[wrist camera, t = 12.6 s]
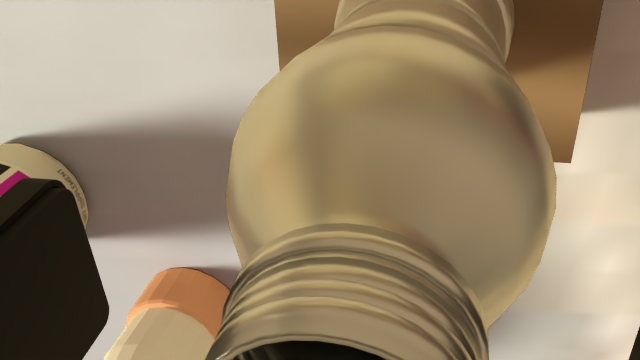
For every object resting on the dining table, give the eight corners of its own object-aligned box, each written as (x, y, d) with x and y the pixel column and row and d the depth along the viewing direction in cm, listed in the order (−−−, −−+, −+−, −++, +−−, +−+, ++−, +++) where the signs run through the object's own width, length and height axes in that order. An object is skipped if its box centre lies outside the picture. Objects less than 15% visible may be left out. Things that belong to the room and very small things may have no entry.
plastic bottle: (338, 72, 26) (105, 519, 9) (360, -94, 22) (46, 149, 6) (484, 99, 25) (518, 640, 9) (532, -68, 22) (752, 299, 5)
